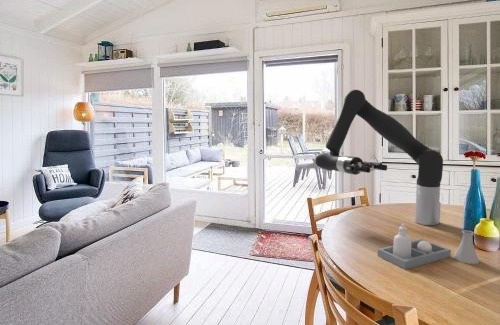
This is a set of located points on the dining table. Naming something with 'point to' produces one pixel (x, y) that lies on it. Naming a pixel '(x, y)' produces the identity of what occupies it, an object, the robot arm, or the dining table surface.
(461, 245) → the flask
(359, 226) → the dining table surface
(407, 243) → the eye dropper bottle
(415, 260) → the holder
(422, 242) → the ceramic egg
